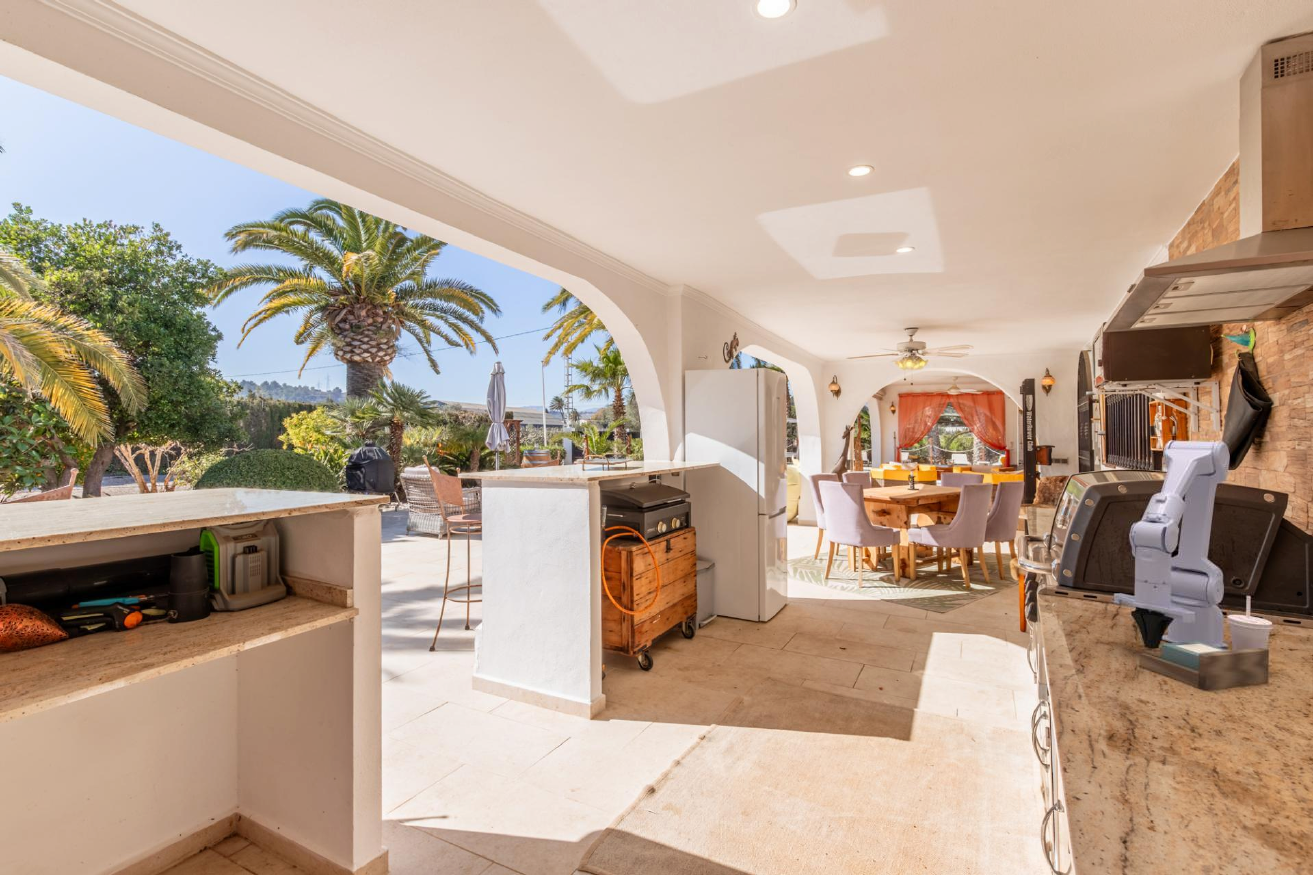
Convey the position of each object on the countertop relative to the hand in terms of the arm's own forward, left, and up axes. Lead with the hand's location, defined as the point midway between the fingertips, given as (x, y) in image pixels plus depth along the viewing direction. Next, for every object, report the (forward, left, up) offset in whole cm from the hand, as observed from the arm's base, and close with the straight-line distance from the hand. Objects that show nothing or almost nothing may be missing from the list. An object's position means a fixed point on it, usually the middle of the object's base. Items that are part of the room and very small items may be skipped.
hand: (1151, 647), depth 125 cm
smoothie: (-12, +9, -2) cm, 15 cm away
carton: (0, +9, -2) cm, 9 cm away
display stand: (0, +8, -2) cm, 9 cm away
